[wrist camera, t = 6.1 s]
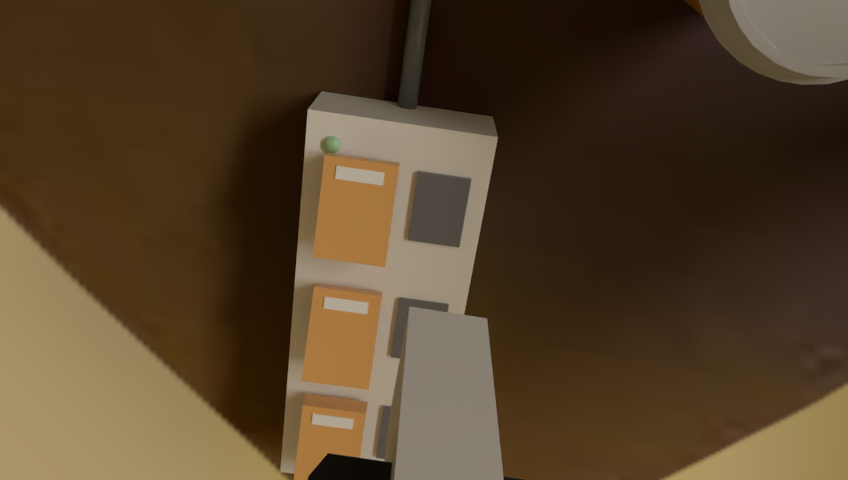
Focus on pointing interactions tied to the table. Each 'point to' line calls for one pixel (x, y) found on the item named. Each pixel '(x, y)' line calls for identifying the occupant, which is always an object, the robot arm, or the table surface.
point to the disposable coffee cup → (783, 36)
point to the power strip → (392, 226)
